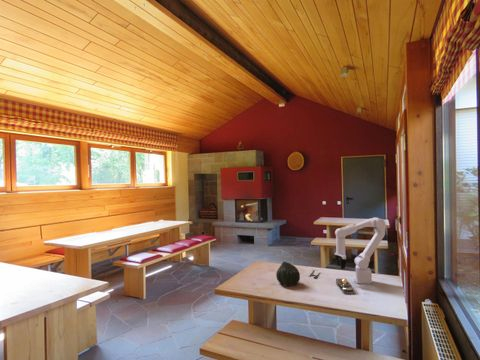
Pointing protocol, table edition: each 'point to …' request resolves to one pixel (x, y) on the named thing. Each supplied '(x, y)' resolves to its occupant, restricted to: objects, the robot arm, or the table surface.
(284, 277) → the squash
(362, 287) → the table surface
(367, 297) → the table surface
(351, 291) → the chain ends
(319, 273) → the hacksaw
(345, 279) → the brass pin
